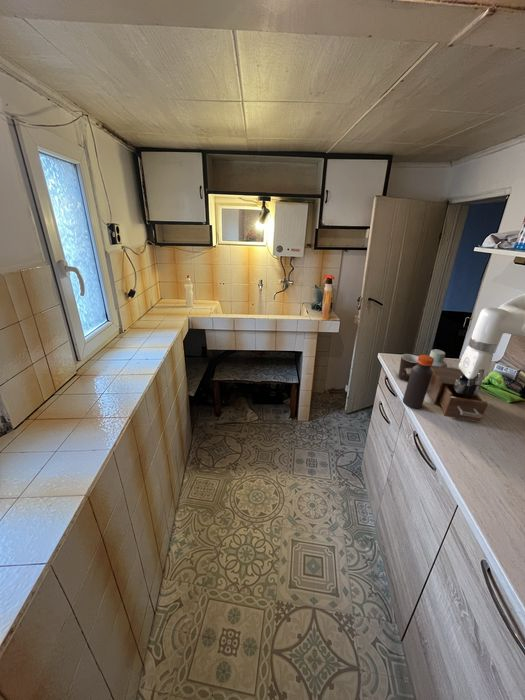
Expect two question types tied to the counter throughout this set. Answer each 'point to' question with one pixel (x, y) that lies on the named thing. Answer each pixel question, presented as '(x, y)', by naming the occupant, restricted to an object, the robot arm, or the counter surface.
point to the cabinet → (442, 380)
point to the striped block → (462, 386)
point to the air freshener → (438, 358)
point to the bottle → (418, 382)
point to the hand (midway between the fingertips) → (464, 391)
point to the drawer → (461, 404)
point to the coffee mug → (407, 366)
